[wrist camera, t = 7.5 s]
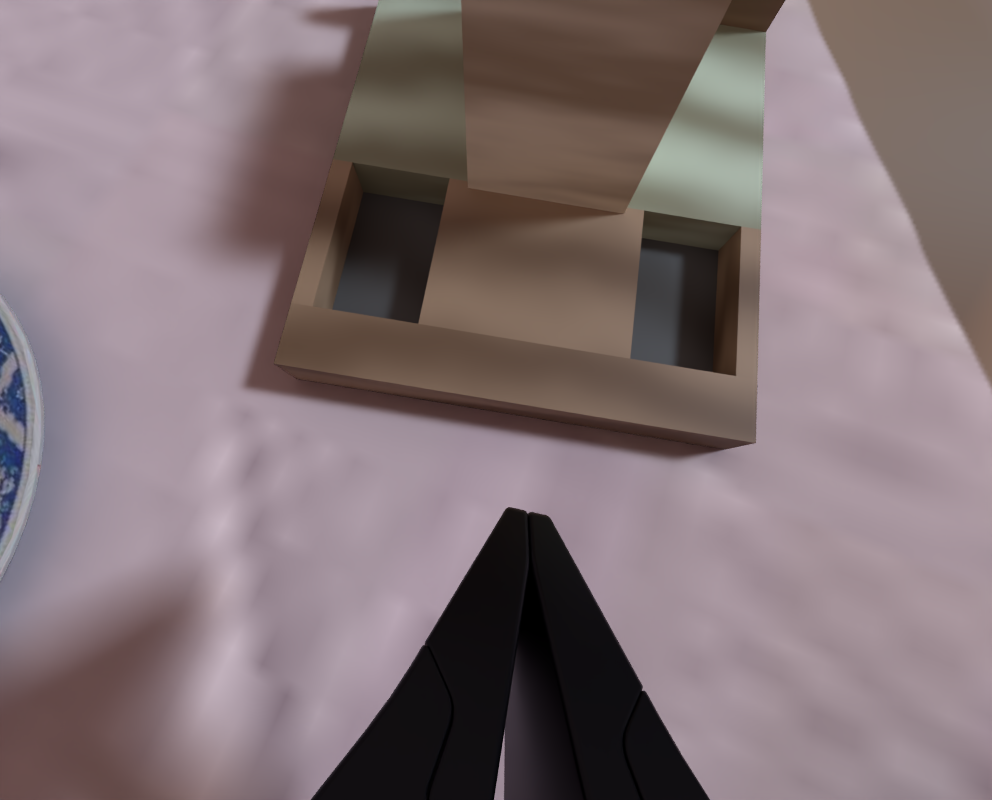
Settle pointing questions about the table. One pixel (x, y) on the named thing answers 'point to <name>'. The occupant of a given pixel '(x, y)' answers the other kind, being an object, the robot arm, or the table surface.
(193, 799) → the table surface
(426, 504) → the table surface
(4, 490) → the ceramic plate
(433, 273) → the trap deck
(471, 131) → the birch block
